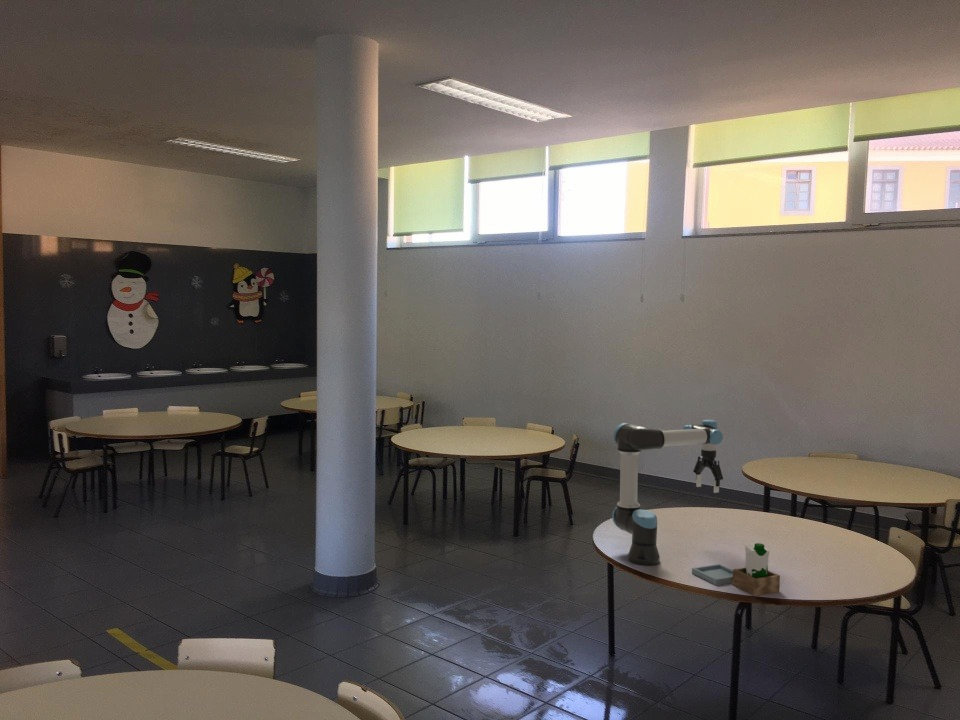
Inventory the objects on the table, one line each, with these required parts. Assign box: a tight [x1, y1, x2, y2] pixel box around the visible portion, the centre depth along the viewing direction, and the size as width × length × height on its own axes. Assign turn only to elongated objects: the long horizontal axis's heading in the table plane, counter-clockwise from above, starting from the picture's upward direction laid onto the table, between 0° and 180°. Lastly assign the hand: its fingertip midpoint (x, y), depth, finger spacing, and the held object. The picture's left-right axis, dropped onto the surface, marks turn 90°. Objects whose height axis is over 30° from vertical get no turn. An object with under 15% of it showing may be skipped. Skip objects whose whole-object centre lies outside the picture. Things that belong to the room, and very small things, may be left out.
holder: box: [732, 567, 781, 597], centre depth 314 cm, size 14×14×7 cm
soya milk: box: [744, 542, 770, 578], centre depth 313 cm, size 9×9×20 cm
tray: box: [691, 563, 733, 586], centre depth 327 cm, size 16×16×2 cm
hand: (707, 489), depth 377 cm, fingers open, 13 cm apart
